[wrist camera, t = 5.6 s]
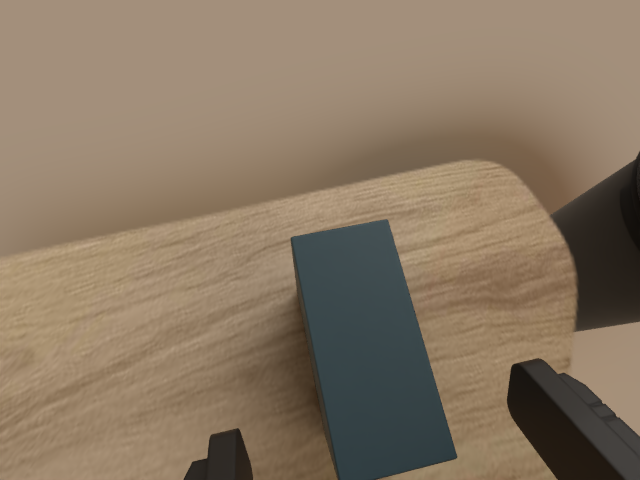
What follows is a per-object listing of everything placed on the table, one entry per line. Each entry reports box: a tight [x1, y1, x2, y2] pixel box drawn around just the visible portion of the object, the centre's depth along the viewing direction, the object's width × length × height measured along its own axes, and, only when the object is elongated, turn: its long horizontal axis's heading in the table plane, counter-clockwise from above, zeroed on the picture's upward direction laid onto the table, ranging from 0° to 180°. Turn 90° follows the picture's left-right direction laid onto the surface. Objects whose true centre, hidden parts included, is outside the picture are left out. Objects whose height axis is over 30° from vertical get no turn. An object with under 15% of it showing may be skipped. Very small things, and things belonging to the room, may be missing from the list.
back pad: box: [291, 219, 457, 480], centre depth 15 cm, size 3×7×8 cm, turn 12°
